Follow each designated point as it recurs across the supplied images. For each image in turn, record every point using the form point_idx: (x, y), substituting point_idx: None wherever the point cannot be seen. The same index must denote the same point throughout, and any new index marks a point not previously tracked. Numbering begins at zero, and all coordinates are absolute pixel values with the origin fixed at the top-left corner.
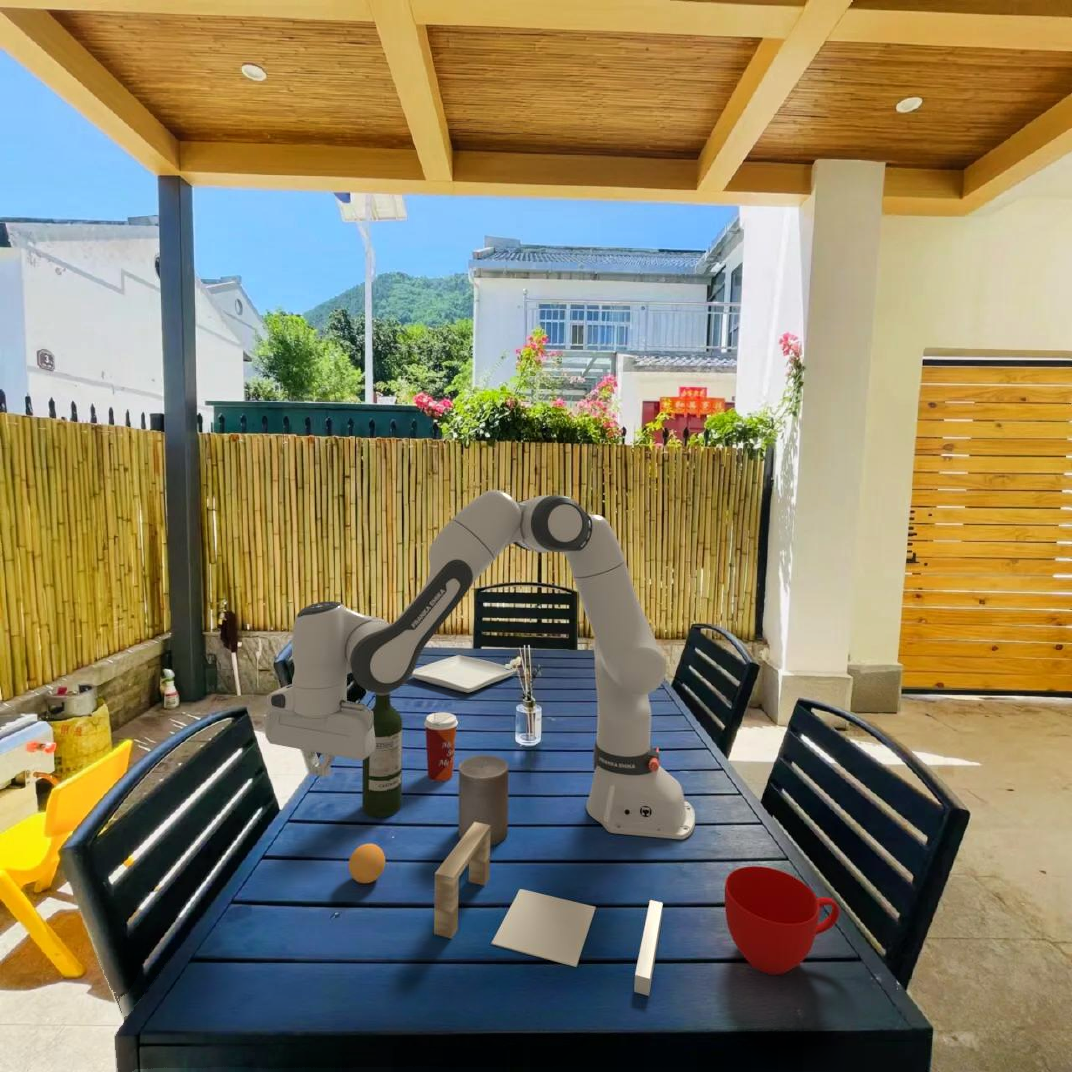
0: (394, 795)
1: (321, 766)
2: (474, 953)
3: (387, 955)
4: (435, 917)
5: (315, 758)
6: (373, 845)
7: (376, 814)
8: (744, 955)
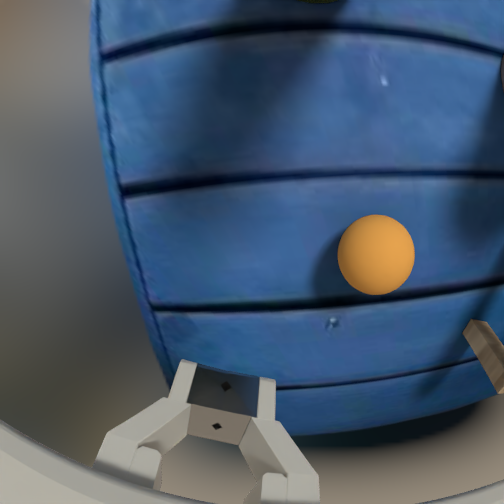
0: None
1: (242, 452)
2: None
3: (409, 368)
4: (472, 347)
5: (169, 431)
6: (399, 263)
7: (316, 1)
8: None
